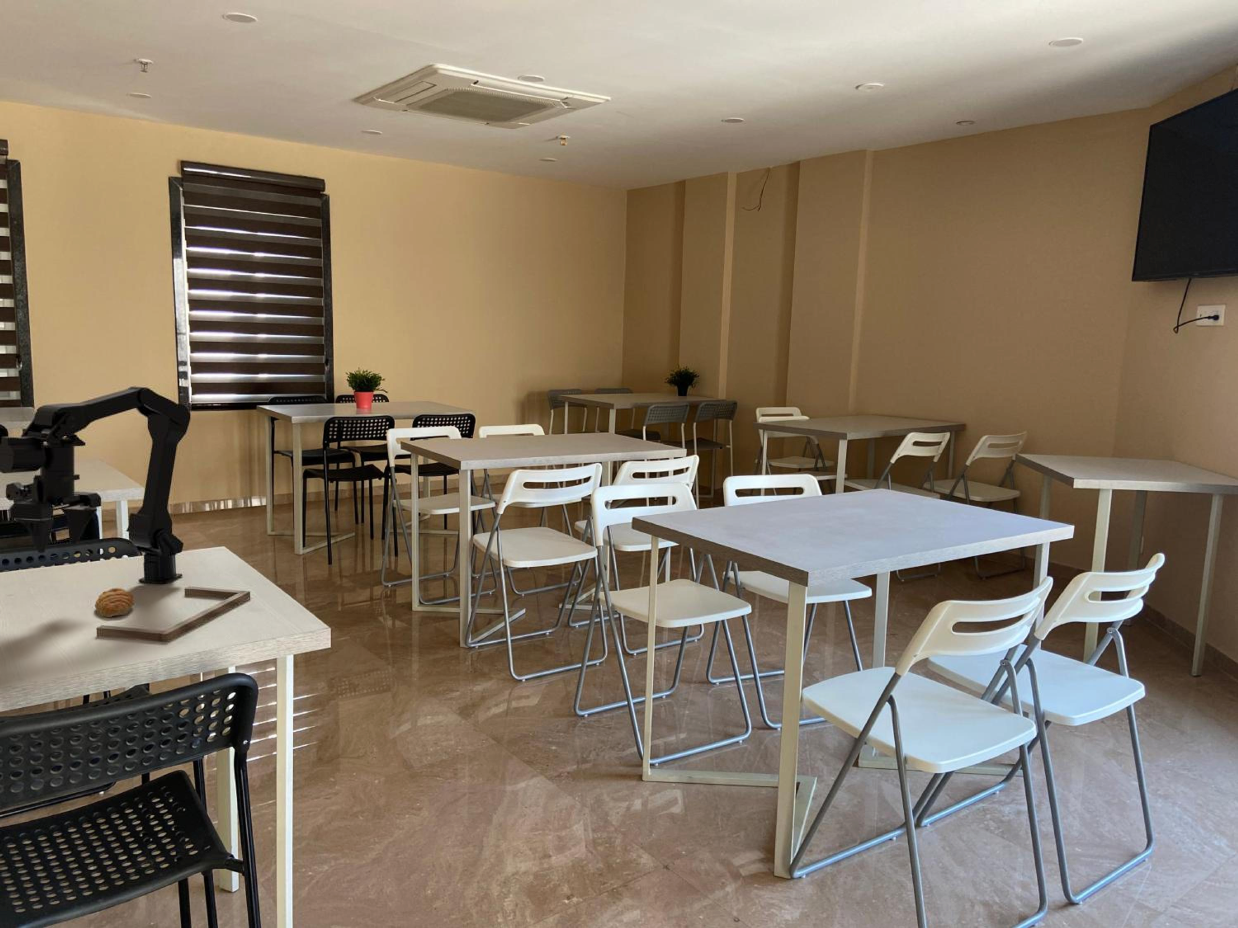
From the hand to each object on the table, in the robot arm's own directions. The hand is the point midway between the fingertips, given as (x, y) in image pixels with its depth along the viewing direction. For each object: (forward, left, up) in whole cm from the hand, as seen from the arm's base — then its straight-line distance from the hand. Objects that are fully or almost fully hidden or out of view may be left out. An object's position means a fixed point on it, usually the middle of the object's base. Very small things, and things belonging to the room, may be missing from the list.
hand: (57, 548), depth 177 cm
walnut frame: (-1, +24, -12) cm, 27 cm away
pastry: (-1, +11, -13) cm, 17 cm away
